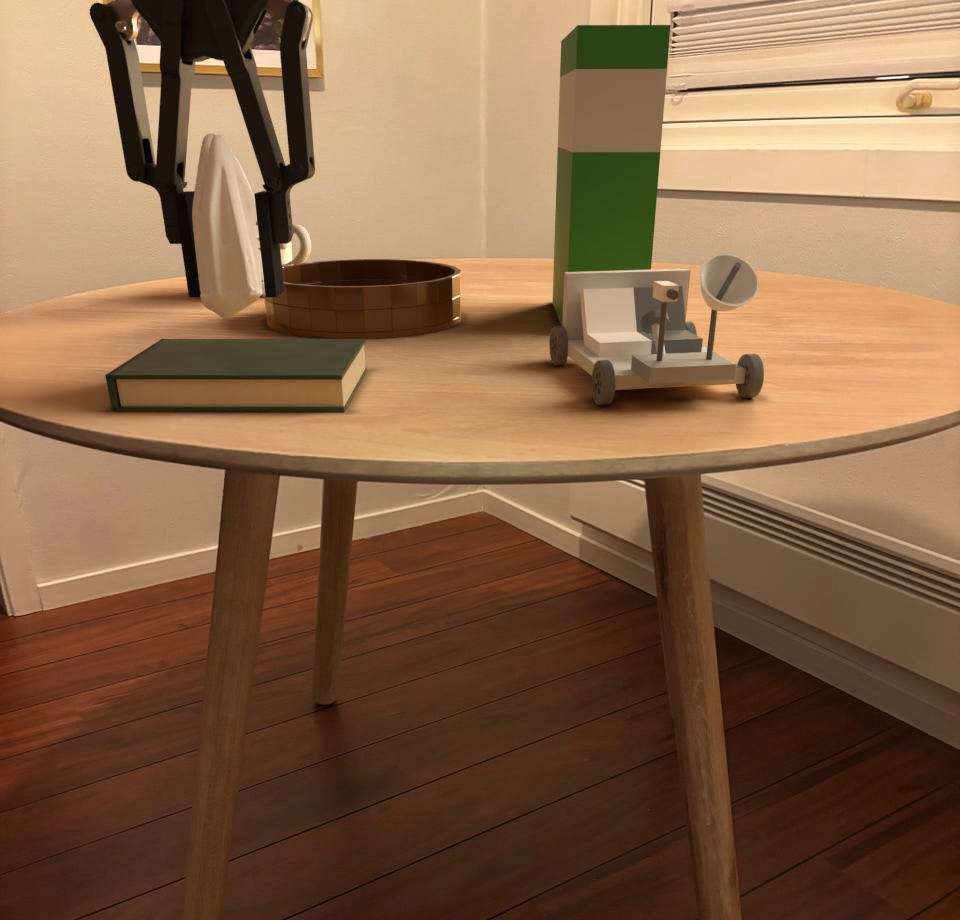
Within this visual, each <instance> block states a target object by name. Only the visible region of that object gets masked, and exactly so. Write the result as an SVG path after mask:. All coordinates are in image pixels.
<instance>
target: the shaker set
mask: <svg viewBox="0 0 960 920" xmlns="http://www.w3.org/2000/svg"><path fill="white" fill-rule="evenodd" d="M237 158H238V157H237V156H236V155H235V154H234V152H233V150H232V148H231V146H230V144H229V143H228V141H227V139H226V138H225V136H223V135H222V134H218V133H217V134H215V133H208V134H205V135H204V136H203V138H202V141H201V146H200V151H199V157H198V164H197V171H196V177H195V184H194V191H195V192H194V199H193V207H192V221H193V231H194V240H195V250H196V259H197V268H198V276H199V285H200V292H201V294H200V297H199V299H200V300H201V303H202V304H203V306H204V307H205V308H206V309H207V310H209V311H211V312H213V313H215V314H216V315H218V316H219V317H220V318H221V319H223V320H226V319H230V318H231V317H233V316H235V315H236V314H238V313H240V312H243V311H244V310H245V309H247V308H248V307H250V306H252V305H253V304H254V303H256V302H257V301H258V300H259V299H260V298H261V297H262V298H264V296H265V287H264V278H263V268H262V259H261V250H260V241H259V232H258V223H257V214H256V205H255V196H254V192H253V189H252V188H251V185H250V182H249V180H248V178H247V175H246V173H245V171H244V168H243V167H242V165H241V163H240V161H239V159H237ZM265 297H266V296H265Z"/></svg>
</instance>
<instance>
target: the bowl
mask: <svg viewBox="0 0 960 920" xmlns="http://www.w3.org/2000/svg"><path fill="white" fill-rule="evenodd" d="M282 272H283V282H284V292H283V293H281V294H280V295H279V296H278V297H265V296H264V297H263V301H264V309H265V317H266V324H267V326H268V328H270V329H271V330H274V331H276V332H279V333H281V334H285V335H286V334H287V335H291V336H298V337H303V338H311V339H365V340H376V339H394V338H403V337H404V338H405V337H412V336H413V337H414V336H418V335H425V334H430V333H435V332H441V331H443V330H446V329H449V328H453V327H454V326H456V325H458V324H459V323H461V321H462V308H463V307H462V305H463V304H462V302H463V301H462V270H461V268H458V267H456V266H455V265H450V264H447V263H442V262H434V261H428V260H427V261H426V260H415V259H414V260H413V259H398V258H397V259H396V258H395V259H393V258H363V259H362V258H359V259H358V258H357V259H332V260H331V259H330V260H320V261H319V260H317V261H309V262H304V263H299V264H292V265H287V266H282Z"/></svg>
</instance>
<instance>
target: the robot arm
mask: <svg viewBox="0 0 960 920" xmlns="http://www.w3.org/2000/svg"><path fill="white" fill-rule="evenodd" d="M267 13H268V14H269V16H270V17H271V24H272V30H273V33H274V34H275V35H276V37H278V38H280V40H279V41H280V42H279V56H280V66H281V69H280V70H281V79H282V92H283V102H284V103H283V104H284V114H285V115H284V116H285V125H286V135H287V136H286V137H287V147H288V159H289V160H288V161H289V164H286V162H285V159H284V156H283V152H282V149H281V146H280V143H279V140H278V137H277V134H276V130H275V127H274V123H273V120H272V117H271V114H270V110H269V108H268V104H267V101H266V98H265V94H264V90H263V88H262V85H261V81H260V78H259V71H258V66H257V62H256V59H255V56H254V53H253V50H252V49H253V48H252V46H251V45H252V43H253V40H254V39H255V36H256V35H257V32H258V30H259V29H260V26H261V25H262V22H263V20H264V19H265V17H266V14H267ZM139 16H141V18H142V19H143V20H144V22H145V23H146V25H147V26H148V27H149V29H150V30H151V31H152V33H153V34H154V35H155V37H156V38H157V39H158V41H159V42H160V50H159V70H160V75H161V76H160V93H159V94H160V95H159V108H158V109H159V111H158V125H157V126H158V130H157V141H156V143H157V145H156V158H155V151H154V145H153V138H152V133H151V127H150V120H149V114H148V107H147V100H146V93H145V89H144V81H143V75H142V68H141V63H140V57H139V52H138V49H137V45H136V42H135V39H137V37H138V36H139V27H138V17H139ZM89 17H90V19H91V21H92V23H93V26H94V28H95V29H96V32H97V34H98V36H99V38H100V40H101V43H102V45H103V47H104V49H105V52H106V53H105V55H106V61H107V67H108V73H109V77H110V83H111V89H112V95H113V100H114V107H115V113H116V119H117V125H118V130H119V137H120V142H121V149H122V153H123V159H124V165H125V172H126V174H127V177H128V178H129V179H130V180H131V181H133V182H136V183H138V182H139V183H141V184H144V185H145V186H146V185H147V186H149V187H151V188H153V189H154V190H155V191H156V192H157V194H158V196H159V199H160V205H161V207H160V208H161V212H162V219H163V225H164V231H165V232H164V233H165V236H166V239H167V241H168V243H169V244H170V245H180V247H181V254H182V261H183V266H184V267H183V268H184V273H185V281H186V287H187V295H188V298H192V299H193V298H200V294H201V292H200V285H199V276H198V268H197V259H196V250H195V240H194V231H193V221H192V207H193V199H194V192H195V190H191V191H190V190H189V191H188V190H186V191H184V189H185V188H186V187H187V186H188V183H189V182H188V181H186V168H187V167H186V166H187V153H188V152H187V151H188V140H189V139H188V138H189V125H190V112H191V97H192V85H193V79H194V77H195V72H196V63H201V62H205V61H207V60H210V59H212V60H216V61H221V62H223V65H224V67H225V70H226V73H227V75H228V76H229V79H230V80H231V84H232V88H233V90H234V93H235V97H236V99H237V102H238V106H239V108H240V111H241V112H240V113H241V114H242V119H243V121H244V123H245V127H246V131H247V133H248V137H249V140H250V144H251V146H252V149H253V152H254V156H255V159H256V162H257V165H258V168H259V171H260V174H261V178H262V181H263V184H261V186H262V188H263V189H264V190H262V191H258V192H255V193H253V195H254V197H255V205H256V214H257V223H258V232H259V241H260V250H261V259H262V268H263V278H264V287H265V296H266V297H278V296H279V295H280V294H281V293H283V292H284V282H283V272H282V262H281V252H280V244H287V243H289V242H291V243H292V240H293V236H294V233H293V225H292V224H293V215H292V205H291V190H292V188H293V187H294V186H296V185H299V184H301V183H302V182H304V181H307V180H310V179H312V178H313V177H314V175H315V173H316V161H315V160H316V159H315V150H314V149H315V148H314V138H313V137H314V136H313V124H312V123H313V121H312V109H311V96H310V83H309V70H308V58H307V57H308V55H307V48H308V42H309V38H310V34H311V30H312V25H313V20H314V13H313V11H312V9H311V8H310V7H309V6H308V5H306V4H304V3H302V2H301V1H300V0H293V1H290V0H112V1H110V2H108V3H102V2H94V3H92V4H91V5H90V8H89Z"/></svg>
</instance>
